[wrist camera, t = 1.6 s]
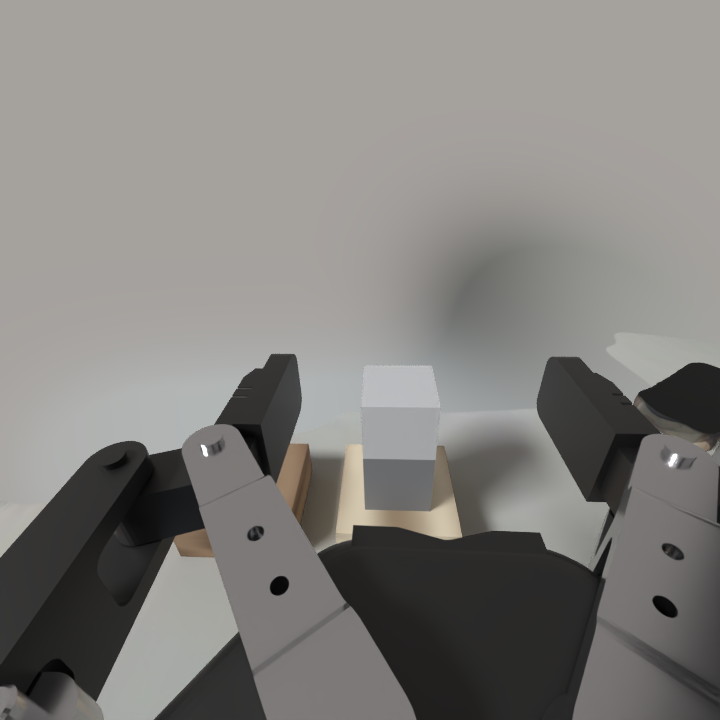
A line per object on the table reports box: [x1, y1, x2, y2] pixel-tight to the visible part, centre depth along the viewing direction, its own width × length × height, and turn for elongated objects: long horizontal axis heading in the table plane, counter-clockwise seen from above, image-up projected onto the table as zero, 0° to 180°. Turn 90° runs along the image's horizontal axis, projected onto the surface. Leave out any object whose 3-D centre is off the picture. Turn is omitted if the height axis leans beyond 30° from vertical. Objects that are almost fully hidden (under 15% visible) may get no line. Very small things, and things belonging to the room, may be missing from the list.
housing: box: [361, 366, 441, 511], centre depth 30 cm, size 6×6×11 cm
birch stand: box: [336, 445, 462, 544], centre depth 34 cm, size 10×10×4 cm
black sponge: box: [633, 363, 720, 451], centre depth 46 cm, size 16×8×4 cm, turn 120°
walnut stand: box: [173, 444, 312, 557], centre depth 35 cm, size 10×10×4 cm
